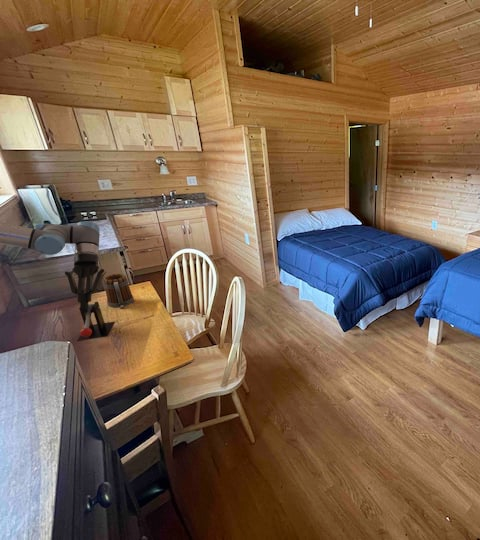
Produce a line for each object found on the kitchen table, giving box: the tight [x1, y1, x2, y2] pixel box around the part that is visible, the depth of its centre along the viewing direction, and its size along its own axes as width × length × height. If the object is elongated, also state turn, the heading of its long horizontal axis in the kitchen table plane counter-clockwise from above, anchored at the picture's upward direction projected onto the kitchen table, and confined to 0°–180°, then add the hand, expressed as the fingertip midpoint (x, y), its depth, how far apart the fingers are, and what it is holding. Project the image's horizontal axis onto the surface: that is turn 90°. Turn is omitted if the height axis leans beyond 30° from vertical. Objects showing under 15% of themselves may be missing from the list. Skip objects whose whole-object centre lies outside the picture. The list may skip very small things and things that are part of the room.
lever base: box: [76, 301, 116, 342], centre depth 125 cm, size 12×10×14 cm
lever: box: [79, 303, 94, 337], centre depth 120 cm, size 14×4×4 cm
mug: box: [103, 273, 135, 310], centre depth 146 cm, size 16×11×15 cm
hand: (84, 309), depth 118 cm, fingers closed
